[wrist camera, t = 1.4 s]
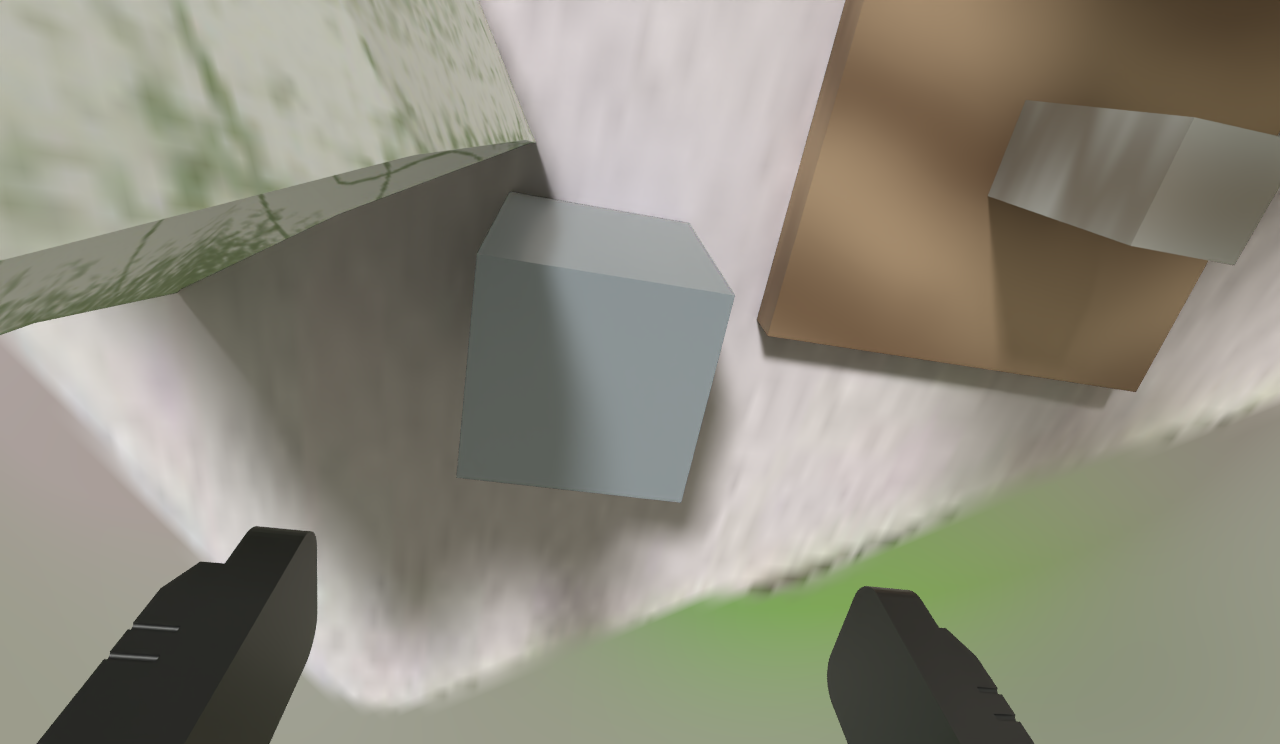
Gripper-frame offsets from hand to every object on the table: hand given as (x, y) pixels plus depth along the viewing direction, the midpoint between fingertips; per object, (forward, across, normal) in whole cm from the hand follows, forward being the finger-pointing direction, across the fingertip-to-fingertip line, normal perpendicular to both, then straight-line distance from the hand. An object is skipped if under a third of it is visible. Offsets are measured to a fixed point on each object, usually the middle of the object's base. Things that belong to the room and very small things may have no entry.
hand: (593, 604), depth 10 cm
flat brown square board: (+14, -13, -7) cm, 20 cm away
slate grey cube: (+14, 0, 0) cm, 14 cm away
